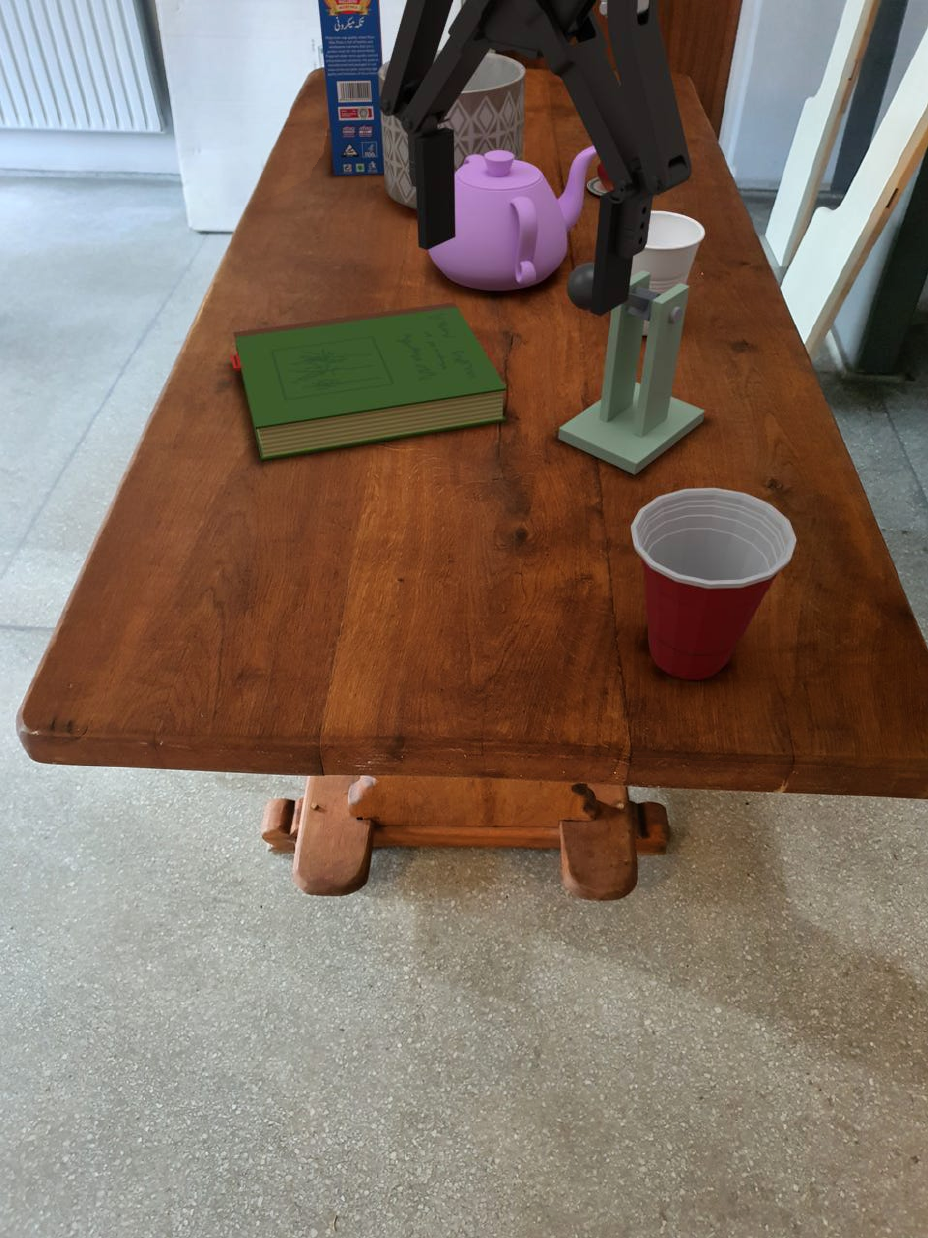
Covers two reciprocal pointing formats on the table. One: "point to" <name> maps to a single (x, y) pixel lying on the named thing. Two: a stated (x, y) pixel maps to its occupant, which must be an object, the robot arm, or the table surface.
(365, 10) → the pasta box
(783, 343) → the table surface
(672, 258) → the cup
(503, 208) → the teapot
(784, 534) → the plastic cup
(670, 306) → the switch bracket
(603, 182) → the apple
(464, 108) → the planter
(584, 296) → the switch lever
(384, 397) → the book
